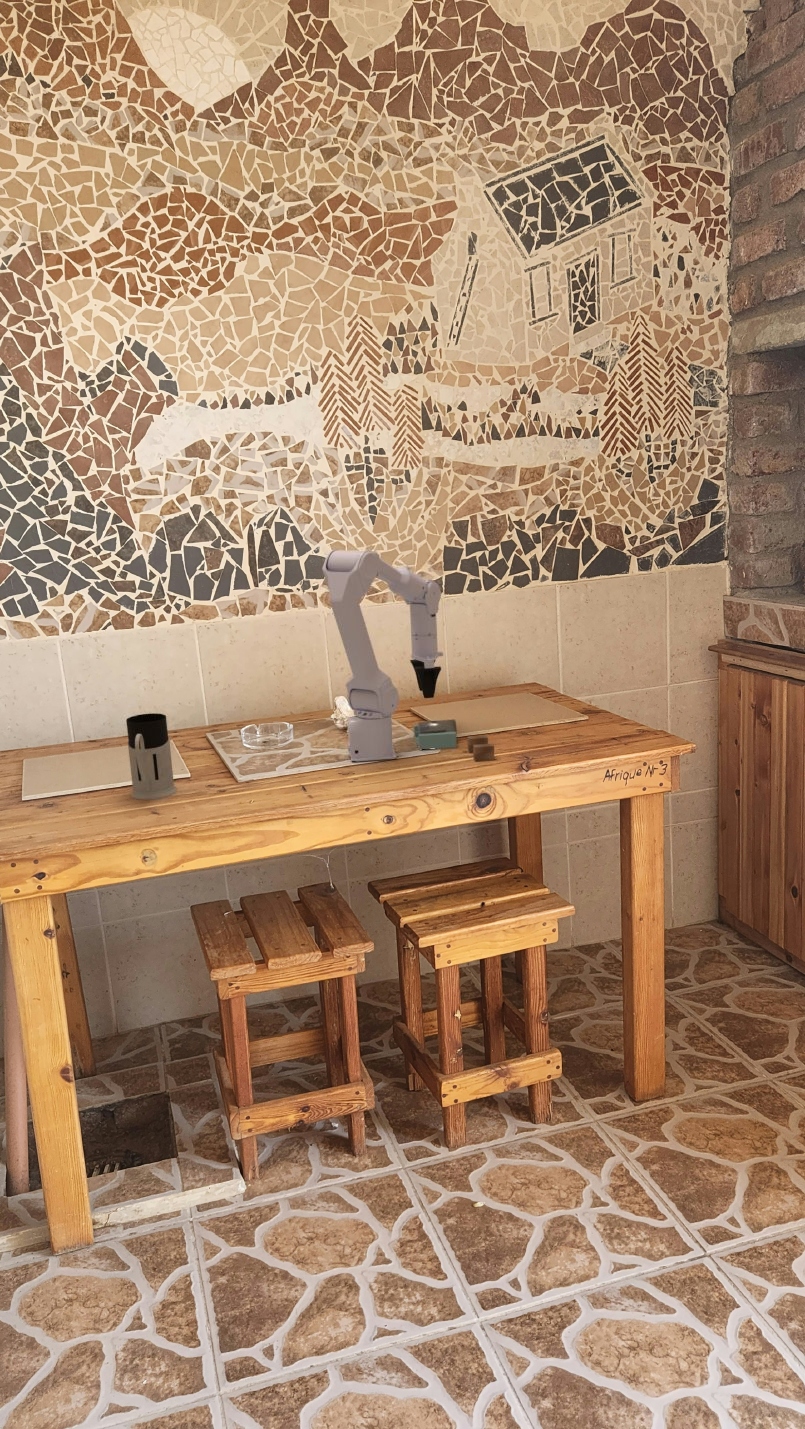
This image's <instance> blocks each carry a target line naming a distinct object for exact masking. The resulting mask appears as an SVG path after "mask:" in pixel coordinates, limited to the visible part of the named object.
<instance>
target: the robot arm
mask: <svg viewBox="0 0 805 1429" xmlns="http://www.w3.org/2000/svg"><path fill="white" fill-rule="evenodd" d="M380 556H381V555H380V553H378V552H374V551H373V550H370V549H364V550H351V549H349V550H348V549H347V550H346V549H345V550H344V549H338V548H334V549H331V550H329V552H328V553H327V555H326V557H325V559H324V561H323V562H324V563H323V565H322V567H321V569H322V573H323V577H324V580H325V583H326V587H327V589H328V594H329V596H328V597H329V602H330V603H329V604H330V606H331V609H332V610H331V611H332V613H333V617H334V619H335V622H336V625H337V629H338V632H339V634H340V638H341V641H342V645H343V648H344V651H345V654H346V657H347V660H348V663H349V666H350V670H351V673H352V675H351V676H350V677H349V678H348V680H347V681H346V683H345V687H346V691H347V703H348V707H349V708H350V709H351V710H352V711H353V716H348V717H347V734H348V743H347V751H348V753H349V757H351V758H350V761H351V762H352V761H356V762H367V761H380V760H381V761H383V760H393V759H397V756H398V755H397V753H396V752H395V751H396V750H395V748H394V746H393V745H394V744H393V743H394V742H393V724H392V723H393V722H392V716H393V715H394V714H395V712H396V710H397V709H398V706H399V701H400V695H399V691H398V689H397V687H396V686H395V685H394V684H393V682H392V678H391V677H390V676H389V675H388V674H387V673H385V672H384V671H382V670H381V669H380V668H379V666H378V662H377V658H376V655H375V652H374V649H373V645H372V641H371V637H370V635H369V631H368V629H367V628H368V627H367V625H366V622H365V619H364V616H363V615H364V614H363V612H362V608H361V605H360V600H361V599H362V598H364V597H365V596H366V594H367V593H368V591H369V589H370V588H371V586H372V584H373V582H374V581H375V580H376V579H378V580H379V581H383V582H384V583H387V587H388V589H389V590H390V592H392V593H394V594H396V595H397V596H400V597H401V598H402V599H403V600H404V602H405V604H406V605H407V606H409V614H410V615H409V617H410V634H411V636H410V637H411V638H410V640H411V653H410V657H411V659H410V660H409V661H410V663H411V665H412V668H413V670H414V673H415V677H416V682H417V685H418V689H419V691H420V692H421V693H422V695H423V698H424V699H434V697H435V694H436V686H437V681H438V678H439V675H440V672H441V671H442V667H441V666H435V663H436V660H437V659H438V658H439V657H444V652H443V651H438V628H437V627H438V625H437V614H438V612H439V603H440V601H441V596H442V590H440V589H441V588H440V586H439V584H438V583H437V582H436V581H435V580H433V579H425V578H423V575H422V574H420V573H415V572H413V571H412V570H411V567H409V566H408V565H402V566H398V567H394V566H392V564H390V563H389V562H387V561H386V560H384V559H383V558H381V557H380Z"/></svg>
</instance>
